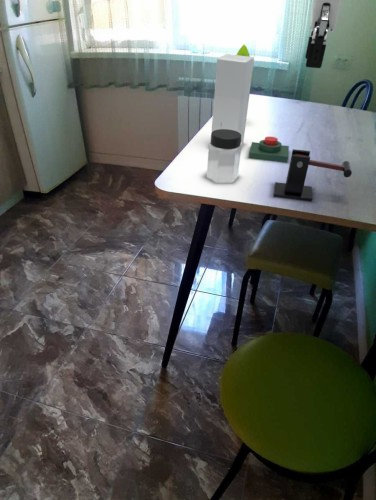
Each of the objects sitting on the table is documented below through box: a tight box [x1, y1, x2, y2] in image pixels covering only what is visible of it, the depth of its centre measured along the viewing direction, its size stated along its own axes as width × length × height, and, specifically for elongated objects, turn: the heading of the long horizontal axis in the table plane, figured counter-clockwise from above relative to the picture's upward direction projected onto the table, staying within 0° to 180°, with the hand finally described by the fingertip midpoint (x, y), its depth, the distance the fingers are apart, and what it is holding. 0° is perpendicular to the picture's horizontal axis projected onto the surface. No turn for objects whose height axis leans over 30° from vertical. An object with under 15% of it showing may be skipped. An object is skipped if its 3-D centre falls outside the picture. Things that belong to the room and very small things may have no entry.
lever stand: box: [272, 148, 313, 202], centre depth 108 cm, size 10×8×11 cm
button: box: [264, 136, 279, 146], centre depth 129 cm, size 4×4×2 cm
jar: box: [206, 129, 243, 184], centre depth 113 cm, size 9×8×12 cm
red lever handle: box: [295, 154, 353, 178], centre depth 105 cm, size 14×6×2 cm, turn 79°
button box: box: [248, 139, 290, 164], centre depth 130 cm, size 12×10×4 cm
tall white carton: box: [210, 53, 255, 146], centre depth 128 cm, size 9×9×25 cm
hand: (312, 63), depth 89 cm, fingers open, 9 cm apart
